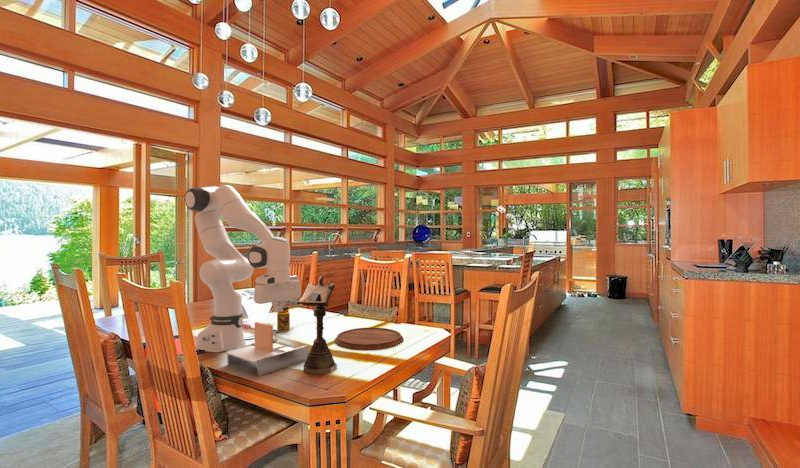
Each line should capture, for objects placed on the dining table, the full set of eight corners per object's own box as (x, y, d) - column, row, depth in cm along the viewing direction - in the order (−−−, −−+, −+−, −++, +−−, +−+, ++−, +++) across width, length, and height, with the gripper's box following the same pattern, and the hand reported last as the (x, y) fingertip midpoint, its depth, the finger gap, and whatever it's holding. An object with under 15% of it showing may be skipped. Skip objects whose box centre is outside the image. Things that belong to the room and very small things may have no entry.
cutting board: (397, 352, 169) (397, 346, 169) (324, 349, 174) (324, 343, 174) (407, 333, 201) (407, 328, 201) (346, 330, 206) (346, 326, 206)
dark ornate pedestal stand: (326, 381, 136) (325, 278, 136) (291, 377, 140) (290, 277, 139) (344, 365, 152) (344, 273, 152) (313, 362, 156) (312, 272, 155)
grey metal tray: (276, 350, 171) (275, 337, 171) (308, 359, 159) (307, 345, 159) (227, 364, 154) (227, 349, 154) (259, 376, 141) (258, 360, 141)
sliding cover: (251, 346, 161) (251, 320, 160) (279, 355, 150) (279, 326, 150) (225, 353, 152) (225, 325, 152) (253, 363, 141) (253, 333, 141)
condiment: (285, 332, 201) (285, 308, 201) (270, 331, 204) (270, 307, 204) (293, 329, 208) (293, 306, 208) (279, 327, 211) (279, 305, 211)
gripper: (294, 274, 171) (294, 306, 171) (251, 279, 155) (251, 314, 155) (304, 275, 167) (304, 308, 168) (261, 280, 151) (261, 317, 151)
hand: (278, 311), depth 161 cm, fingers closed
